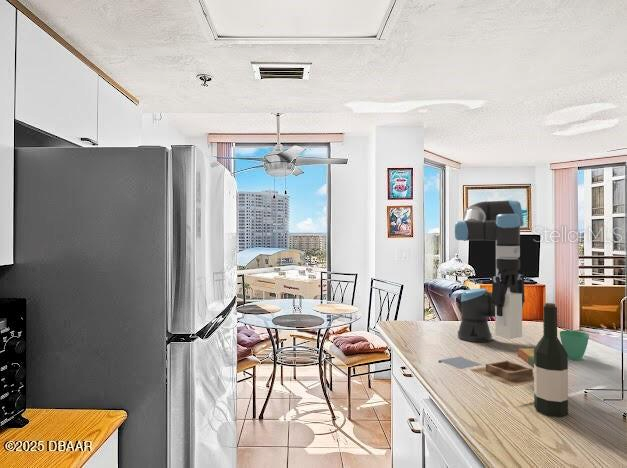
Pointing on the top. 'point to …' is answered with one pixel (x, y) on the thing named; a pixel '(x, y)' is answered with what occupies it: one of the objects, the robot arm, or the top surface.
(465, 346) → the top surface
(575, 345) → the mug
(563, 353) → the wine bottle
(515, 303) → the cream block
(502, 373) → the pocket tray
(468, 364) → the slate mat
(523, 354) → the carton
